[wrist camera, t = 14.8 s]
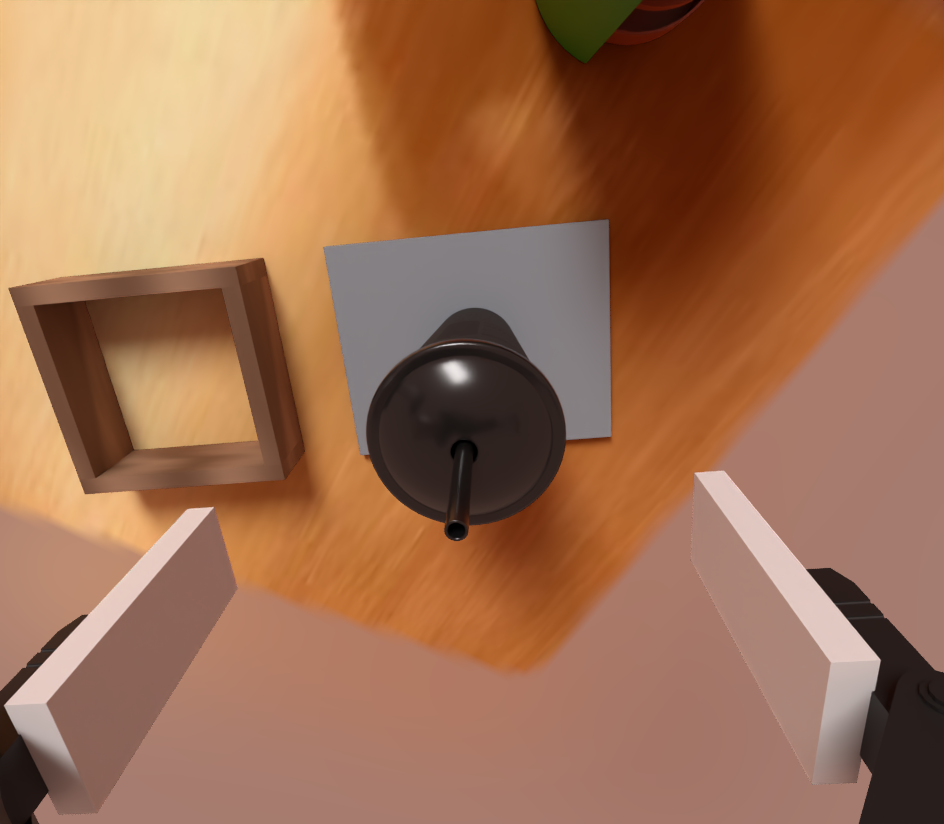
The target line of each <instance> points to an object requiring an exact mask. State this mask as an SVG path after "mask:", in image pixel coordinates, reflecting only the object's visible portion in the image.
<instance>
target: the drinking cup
mask: <svg viewBox="0 0 944 824" xmlns="http://www.w3.org/2000/svg"><path fill="white" fill-rule="evenodd" d="M366 441H367V447H368V452H369V455H370V459H371V462H372V464H373V467H374V469H375V471H376V472H377V474H378V476H379V478H380V479H381V481H382V482H383V484H384V485H385V486H386V488H387V489H388V490H389V491H390V492H391V493H392V494H393V495H394V496H395V497H396V498H397V499H398V500H399V501H400V502H401V503H403V504H404V505H406V506H407V507H408V508H410V509H411V510H413V511H415V512H417V513H418V514H421V515H423V516H425V517H427V518H430V519H433V520H436V521H439V522H443V523H445V528H444V532H445V535H446V536H447V537H448V538H449V539H451V540H453V541H460V540H463V539H464V538H466V536H467V535H468V530H469V525H481V524H488V523H492V522H496V521H499V520H502V519H505V518H508V517H510V516H512V515H514V514H516V513H518V512H520V511H522V510H523V509H525V508H526V507H528V506H529V505H530V504H532V503H533V502H534V501H535V500H536V499H538V498H539V497H540V496H541V495H542V494H543V492H544V491H545V490H546V489H547V488H548V486H549V485H550V484H551V482H552V481H553V479H554V477H555V476H556V474H557V472H558V470H559V467H560V465H561V462H562V459H563V456H564V451H565V446H566V423H565V417H564V413H563V409H562V406H561V403H560V401H559V398H558V396H557V394H556V392H555V390H554V388H553V386H552V385H551V383H550V382H549V380H548V379H547V378H546V376H545V375H544V374H543V373H542V372H541V371H540V370H539V369H538V368H537V367H536V366H535V365H534V364H533V363H532V362H531V361H530V360H529V359H528V357H527V355H526V354H525V352H524V350H523V348H522V347H521V345H520V343H519V342H518V340H517V338H516V336H515V335H514V333H513V331H512V330H511V328H510V326H509V325H508V323H507V322H506V321H505V320H504V319H503V318H502V317H501V316H499V315H498V314H496V313H494V312H492V311H490V310H487V309H483V308H467V309H463V310H460V311H458V312H456V313H454V314H452V315H451V316H450V317H448V318H447V319H446V320H445V321H444V322H443V323H442V325H441V326H440V327H439V328H438V329H437V330H436V331H435V332H434V333H433V334H432V335H431V337H430V338H429V339H428V340H427V341H426V342H425V343H424V344H423V345H422V346H421V348H420V349H418V350H416V351H414V352H413V353H411V354H409V355H408V356H406V357H405V358H403V359H402V360H401V361H400V362H399V363H397V364H396V365H395V366H394V367H393V368H392V369H391V370H390V371H389V373H388V374H387V375H386V376H385V377H384V379H383V380H382V382H381V383H380V385H379V386H378V388H377V390H376V392H375V394H374V396H373V399H372V401H371V404H370V407H369V411H368V415H367V422H366Z"/></svg>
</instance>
